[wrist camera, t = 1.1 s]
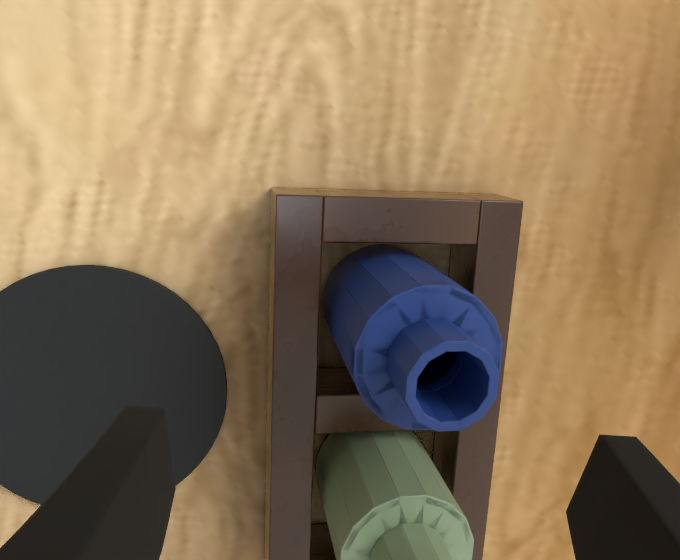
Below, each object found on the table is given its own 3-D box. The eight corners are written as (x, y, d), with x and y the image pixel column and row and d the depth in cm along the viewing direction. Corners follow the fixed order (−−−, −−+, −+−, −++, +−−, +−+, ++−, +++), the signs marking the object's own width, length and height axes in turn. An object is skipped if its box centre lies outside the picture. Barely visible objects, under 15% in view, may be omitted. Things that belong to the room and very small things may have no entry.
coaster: (226, 500, 25) (226, 504, 25) (-36, 515, 24) (-39, 520, 23) (227, 265, 23) (226, 267, 23) (-65, 263, 21) (-69, 265, 21)
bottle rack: (494, 193, 24) (524, 201, 22) (457, 544, 28) (479, 585, 25) (271, 187, 23) (275, 194, 20) (264, 559, 26) (267, 604, 24)
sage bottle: (416, 506, 27) (496, 669, 19) (314, 513, 26) (351, 686, 18) (425, 411, 26) (513, 540, 18) (317, 415, 25) (358, 552, 17)
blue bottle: (429, 353, 25) (523, 460, 17) (320, 355, 25) (364, 468, 16) (439, 245, 24) (543, 304, 16) (324, 243, 23) (373, 305, 15)
